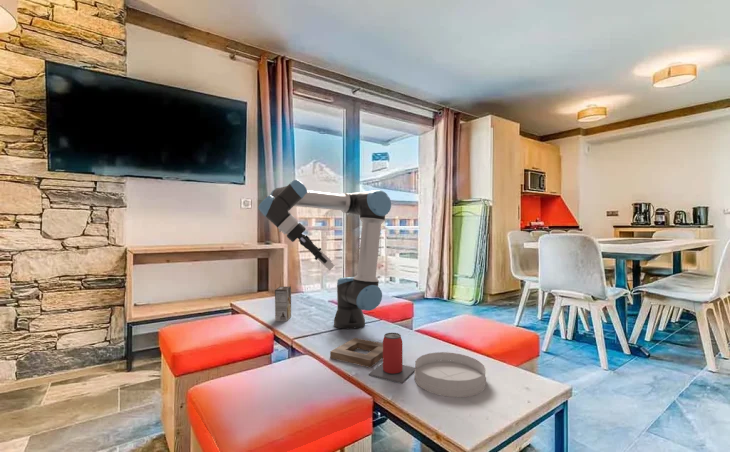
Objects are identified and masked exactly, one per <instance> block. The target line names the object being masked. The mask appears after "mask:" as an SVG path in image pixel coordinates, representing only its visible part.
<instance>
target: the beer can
mask: <svg viewBox="0 0 730 452" xmlns="http://www.w3.org/2000/svg"><path fill="white" fill-rule="evenodd" d="M402 339H403V338H402V335H401V333H398V332H397V333H396V332H388V333H385V334H384V336H383V339H382V343H383V359H382V363H383V370H384V372H386V373H388V374H398V373H400V372H401V371H402V370H403V365H404V364H403V363H404V362H403V358H404V357H403V340H402Z"/></svg>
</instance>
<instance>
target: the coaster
mask: <svg viewBox="0 0 730 452" xmlns="http://www.w3.org/2000/svg"><path fill="white" fill-rule="evenodd" d="M412 374H415V367H414V366H411V365H405V364H403V370H402V371H401V372H400V373H398V374H388V373H386V372H384V370H383V362H382V363H380V364H379V365H378V366H377V367H375V368H374V369H373V370H371V371H370V372H369V373H368V376H370V377H374V378H378V379H382V380H386V381H390V382H394V383H397V384H398V383H399V384H403V383H405V381H407V380H408V379H409V377H410V376H411V375H412Z"/></svg>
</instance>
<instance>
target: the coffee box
mask: <svg viewBox="0 0 730 452" xmlns="http://www.w3.org/2000/svg"><path fill="white" fill-rule="evenodd" d="M274 314H275V315H274V316H275V317H274V318H275V322H288V321H289V320H290V319H291V317H292V286H291V285H290V286H278V287H277V288H275V289H274Z"/></svg>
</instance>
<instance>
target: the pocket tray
mask: <svg viewBox="0 0 730 452" xmlns="http://www.w3.org/2000/svg"><path fill="white" fill-rule="evenodd" d="M357 350H362V351H367V352H368V353H361V352H357ZM329 355H330V356H329V357H330V359H333V360H338V361H341V362H345V363H349V364H354V365H356V366H363V367H367V368H371V367H374V365H376V364H377V363H379V361H381V360H383V342H379V341H378V342H377V341H373V340H367V339H363V338H358V337H354V338H352V339H350V340H348V341H347V342H344V343H343V344H341V345H339V346H337V347H335V348H333V349H331V350H330V351H329Z"/></svg>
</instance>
